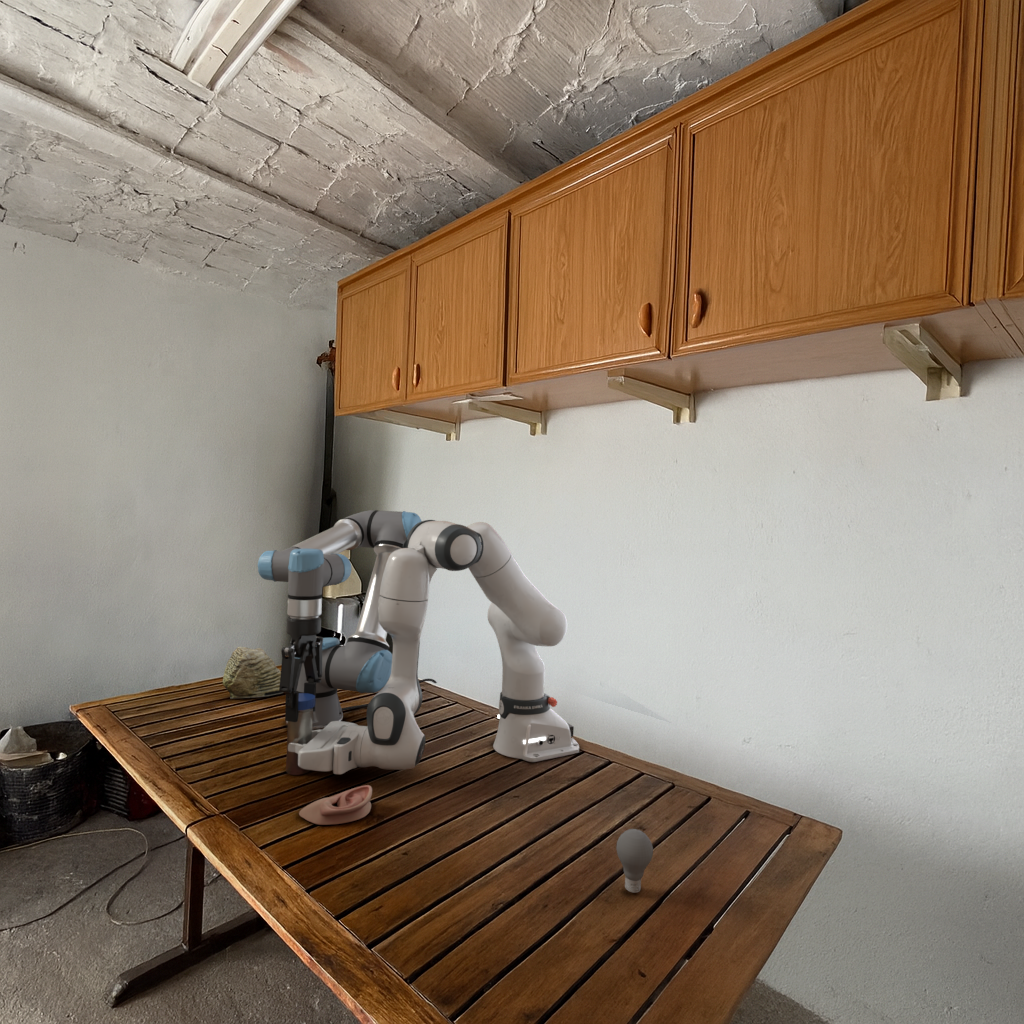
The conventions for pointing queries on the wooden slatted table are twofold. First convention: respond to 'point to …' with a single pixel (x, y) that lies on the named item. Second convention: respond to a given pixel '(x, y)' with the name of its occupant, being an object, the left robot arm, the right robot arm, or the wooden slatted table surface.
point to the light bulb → (634, 857)
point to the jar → (298, 739)
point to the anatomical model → (339, 807)
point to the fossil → (251, 674)
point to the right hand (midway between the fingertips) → (295, 740)
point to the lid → (306, 701)
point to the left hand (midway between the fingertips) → (300, 715)
